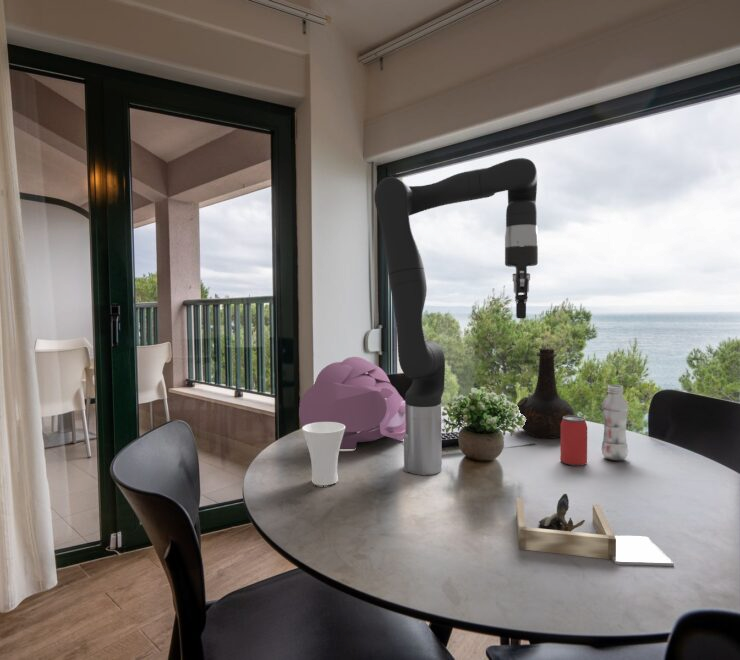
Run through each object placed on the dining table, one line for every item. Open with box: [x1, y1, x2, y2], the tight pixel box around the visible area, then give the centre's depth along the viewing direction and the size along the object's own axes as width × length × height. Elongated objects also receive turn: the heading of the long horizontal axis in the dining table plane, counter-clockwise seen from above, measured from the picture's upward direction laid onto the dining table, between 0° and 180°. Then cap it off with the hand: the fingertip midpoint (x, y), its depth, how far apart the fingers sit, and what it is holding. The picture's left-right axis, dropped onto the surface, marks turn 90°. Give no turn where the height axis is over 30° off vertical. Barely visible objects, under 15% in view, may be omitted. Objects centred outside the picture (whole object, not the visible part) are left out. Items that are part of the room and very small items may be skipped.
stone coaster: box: [611, 535, 675, 567], centre depth 84 cm, size 9×9×1 cm
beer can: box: [559, 415, 588, 467], centre depth 129 cm, size 7×7×12 cm
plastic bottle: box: [601, 384, 629, 462], centre depth 131 cm, size 6×7×20 cm
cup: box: [301, 422, 345, 485], centre depth 118 cm, size 10×10×14 cm
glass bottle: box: [516, 347, 576, 439], centre depth 156 cm, size 18×18×28 cm
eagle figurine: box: [538, 493, 586, 532], centre depth 91 cm, size 8×7×9 cm
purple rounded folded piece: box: [298, 356, 406, 449], centre depth 151 cm, size 35×24×28 cm
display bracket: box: [515, 497, 616, 560], centre depth 90 cm, size 15×14×4 cm
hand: (521, 318), depth 118 cm, fingers closed
